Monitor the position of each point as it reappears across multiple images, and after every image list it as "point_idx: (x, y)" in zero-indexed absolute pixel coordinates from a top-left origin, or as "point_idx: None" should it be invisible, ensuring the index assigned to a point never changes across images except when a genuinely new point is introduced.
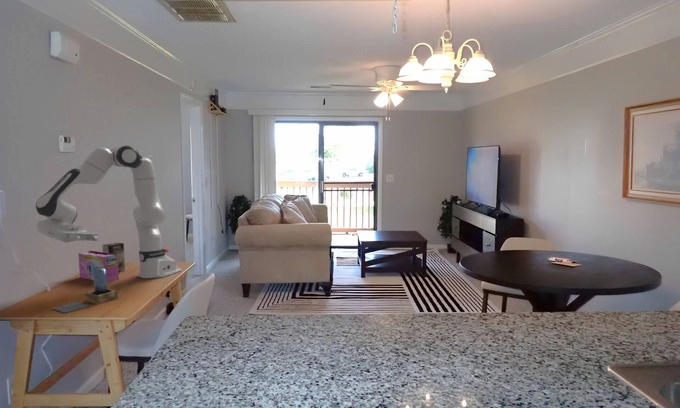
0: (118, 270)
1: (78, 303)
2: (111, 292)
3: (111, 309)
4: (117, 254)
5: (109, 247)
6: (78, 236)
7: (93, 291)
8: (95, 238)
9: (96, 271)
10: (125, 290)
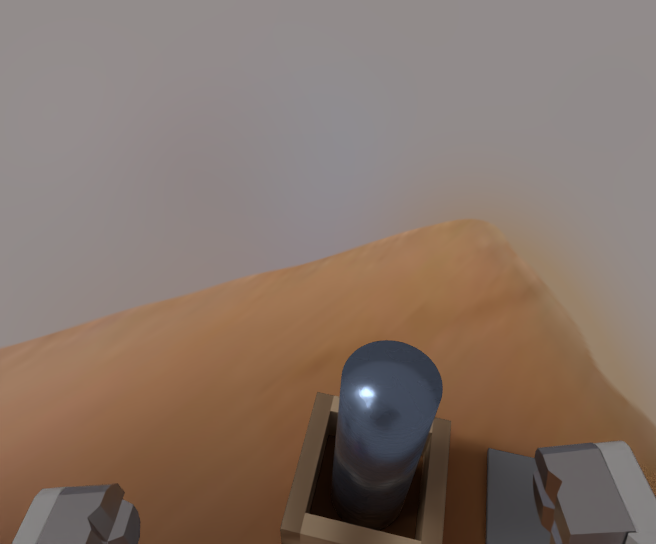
0: None
1: None
2: None
3: (460, 317)
4: None
5: None
6: (573, 473)
7: (383, 540)
8: (113, 490)
9: (435, 372)
10: (153, 502)
